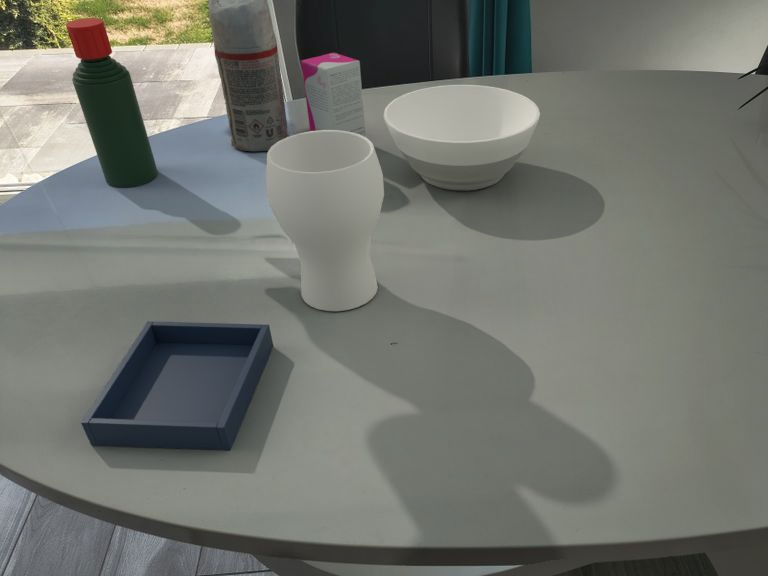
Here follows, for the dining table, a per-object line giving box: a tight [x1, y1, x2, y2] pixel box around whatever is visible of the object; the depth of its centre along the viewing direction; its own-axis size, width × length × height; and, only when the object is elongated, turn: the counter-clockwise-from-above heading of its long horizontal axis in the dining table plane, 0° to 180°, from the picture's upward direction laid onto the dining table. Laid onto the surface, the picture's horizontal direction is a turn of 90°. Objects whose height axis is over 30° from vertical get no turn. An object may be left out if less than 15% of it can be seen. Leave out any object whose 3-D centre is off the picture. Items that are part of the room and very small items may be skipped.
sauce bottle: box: [71, 55, 159, 189], centre depth 90 cm, size 6×6×18 cm
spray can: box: [208, 0, 290, 152], centre depth 98 cm, size 8×8×20 cm
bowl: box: [383, 84, 541, 192], centre depth 94 cm, size 20×20×8 cm
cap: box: [65, 17, 113, 60], centre depth 85 cm, size 4×4×4 cm
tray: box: [80, 320, 274, 451], centre depth 62 cm, size 11×13×2 cm
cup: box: [265, 130, 385, 312], centre depth 70 cm, size 11×11×15 cm
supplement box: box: [300, 52, 367, 138], centre depth 100 cm, size 6×6×12 cm
